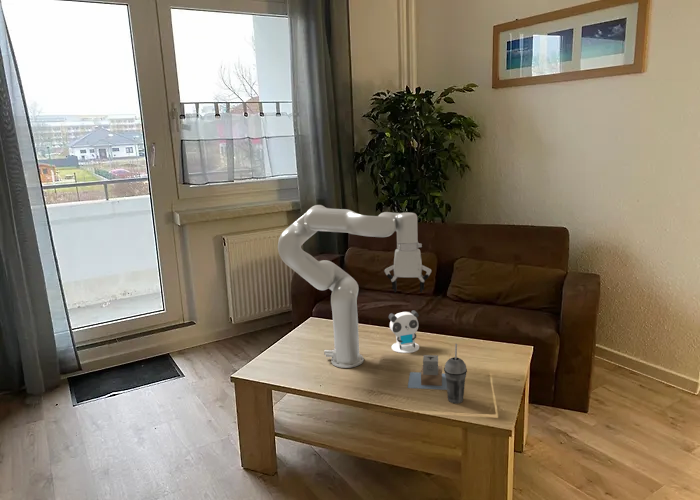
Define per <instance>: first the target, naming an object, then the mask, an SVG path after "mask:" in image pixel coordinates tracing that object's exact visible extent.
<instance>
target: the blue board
mask: <svg viewBox="0 0 700 500" xmlns="http://www.w3.org/2000/svg"><path fill="white" fill-rule="evenodd" d="M407 388H408V389H421V390H422V389H424V390H425V389H426V390H443V391H444V390H446V391H447V384H446V376H445V372H444V373H443V372H442V386H433V385H421V371H420V372H416V371H410V372H409V377H408V383H407Z"/></svg>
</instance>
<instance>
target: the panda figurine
mask: <svg viewBox="0 0 700 500" xmlns="http://www.w3.org/2000/svg"><path fill="white" fill-rule="evenodd" d="M419 316H420V314H419V313H418V312H417V311H416V310H415V309H414V310H411V312H410V311H402V312H397V313H396V314H394V313H393V312H391V313H389V315H388V319H389V320H390V322H389V329H390V331H392V333H393V334H394V335H395V339H396V340H395V341H396V342H394V343H393V344H392V345H391V350H392V351H394V352H396V353H399V354H411V353H416V352H417V351H419V350H420V345H419V344H418V343H416V341H415V340H416V339H417V334H416V333H417V331H418V329H419V321H418V318H419Z"/></svg>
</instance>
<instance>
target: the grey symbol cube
mask: <svg viewBox="0 0 700 500" xmlns="http://www.w3.org/2000/svg"><path fill="white" fill-rule="evenodd" d="M422 359H423V360H422V365H423V375H438V366H439V355H437V354H436V355H435V354H434V355H432V354H423V357H422Z"/></svg>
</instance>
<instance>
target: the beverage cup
mask: <svg viewBox="0 0 700 500" xmlns="http://www.w3.org/2000/svg"><path fill="white" fill-rule="evenodd" d="M454 347H455V348H454V357H450V358H449V359H448V360H447V361H445V364H444V369H443V370H444V373H445V376H446V384H447V390H446V392H447V394H446V395H447V401H448V402H450V403H451V404H457V405H458V404H461V403H463V401H464V395H465V385H466V377H467V373H468V370H467V365H466V363H465V362H464V360H463V359H462V358H460V357H458V344H457V343H455V346H454Z"/></svg>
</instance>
